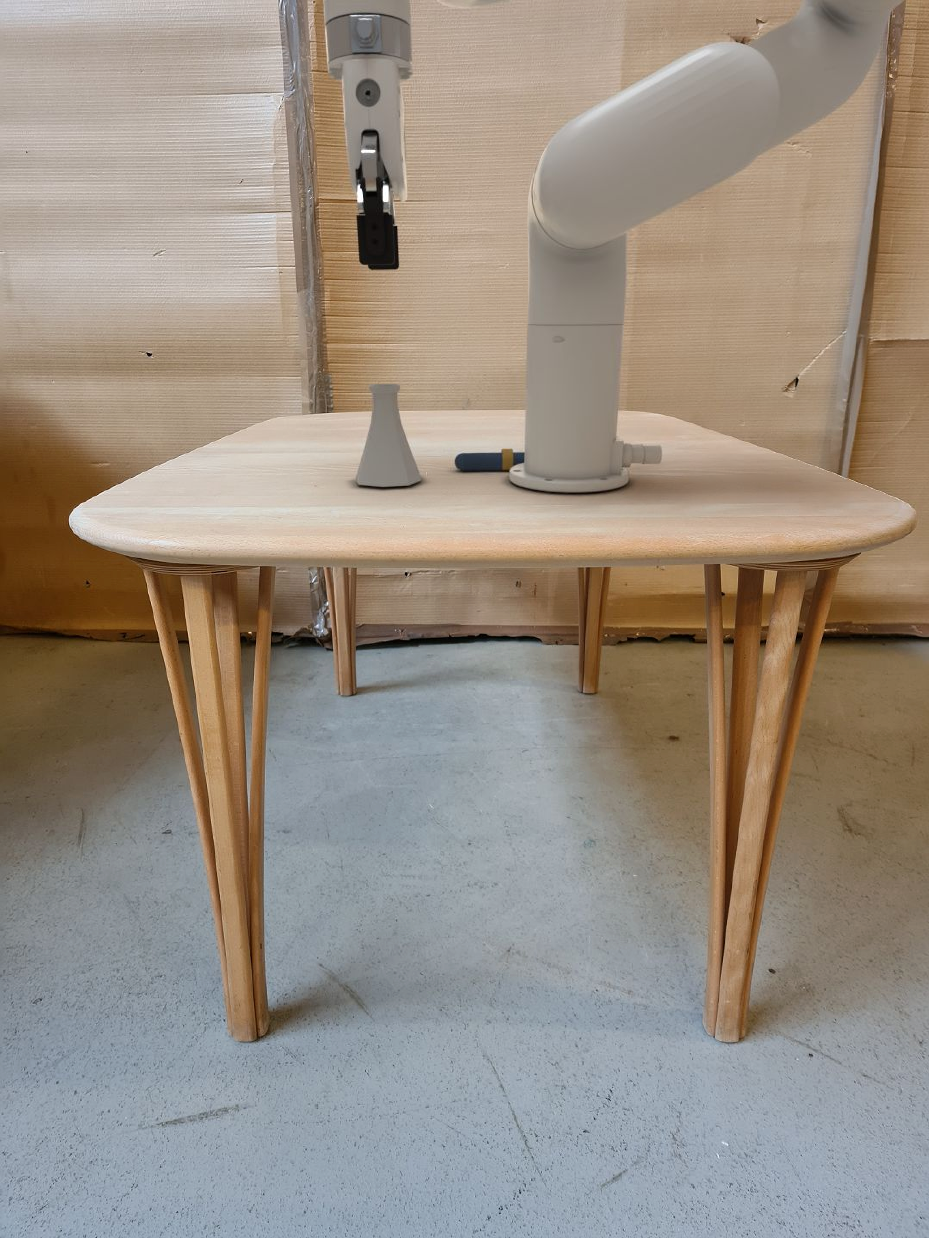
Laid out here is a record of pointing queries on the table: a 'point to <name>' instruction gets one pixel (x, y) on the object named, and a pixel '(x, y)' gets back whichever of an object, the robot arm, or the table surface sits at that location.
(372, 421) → the flask
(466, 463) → the dark blue marker
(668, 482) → the table surface
